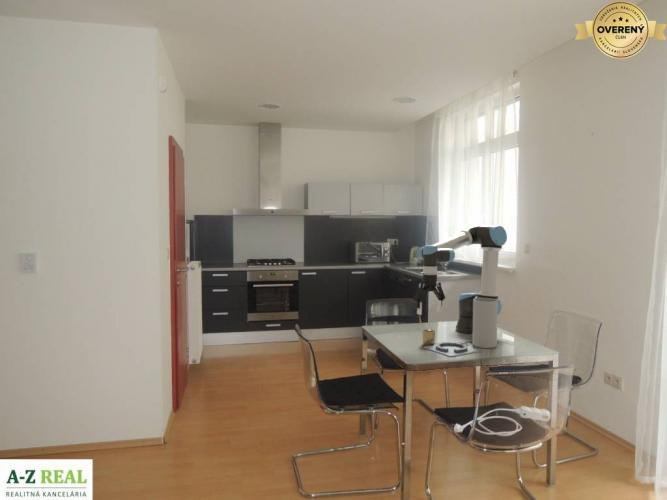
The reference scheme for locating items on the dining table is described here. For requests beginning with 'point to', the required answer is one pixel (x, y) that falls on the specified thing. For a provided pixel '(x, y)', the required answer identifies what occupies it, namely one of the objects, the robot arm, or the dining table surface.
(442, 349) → the piston ring
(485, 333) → the cylinder vase
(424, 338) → the piston
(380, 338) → the dining table surface
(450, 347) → the ring plate
